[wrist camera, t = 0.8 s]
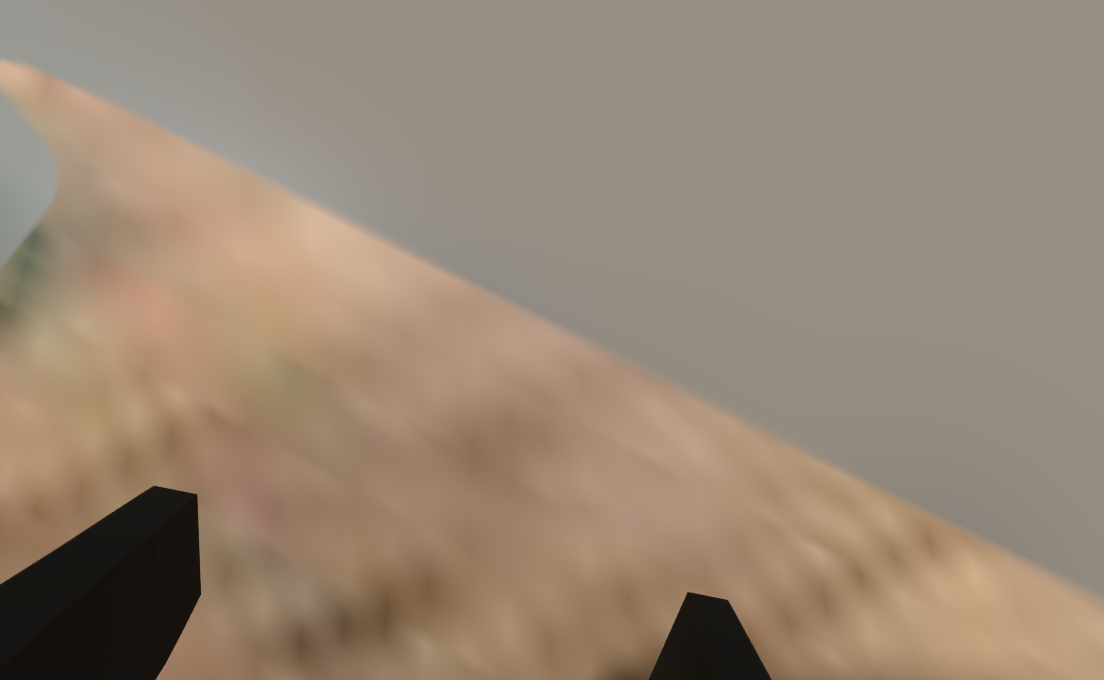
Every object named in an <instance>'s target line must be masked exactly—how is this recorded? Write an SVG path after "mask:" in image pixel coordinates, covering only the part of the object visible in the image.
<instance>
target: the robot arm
mask: <svg viewBox="0 0 1104 680" xmlns="http://www.w3.org/2000/svg"><path fill="white" fill-rule="evenodd" d="M200 595H201V580H200V554H199V528H198V501H197V494H193V493H188V492H183V491H178V490H173V489H168V488H163V487H158V486H153V487H151V488H150V489H148V490H146V491H145V492H143V493H142V494H140V495H138V496H137V497H135V498H134V499H132V500H131V501H129V502H128V503H126V504H124V505H123V506H121V507H120V508H118V509H117V510H115V511H114V512H112V513H111V514H109V515H108V516H106V517H105V518H103V519H101V520H100V521H98V522H97V523H95V524H94V525H92V526H91V527H89V528H88V529H86V530H85V531H83V532H82V533H80V534H79V535H77V536H76V537H74V538H72V539H71V540H69V541H68V542H66V543H65V544H63V545H62V546H60V547H59V548H57V549H55V550H54V551H52V552H51V553H49V554H48V555H46V556H45V557H43V558H41V559H40V560H38V561H37V562H35V563H33V564H32V565H30V566H29V567H27V568H26V569H24V570H22V571H21V572H19V573H18V574H16V575H14V576H13V577H11V578H10V579H8V580H6V581H5V582H3V583H2V584H0V680H155V679H156V678H157V676H158V675H159V673H160V672H161V670H162V669H163V667H164V665H165V664H166V662H167V660H168V658H169V656H170V654H171V652H172V650H173V649H174V647H175V645H176V643H177V641H178V639H179V637H180V635H181V633H182V631H183V629H184V627H185V625H186V623H187V621H188V619H189V617H190V615H191V613H192V611H193V609H194V607H195V605H196V603H197V601H198V599H199V597H200ZM649 680H772V679H771V678H770V676H769V674H768V672H767V670H766V669H765V667H764V665H763V663H762V661H761V660H760V658H759V656H758V654H757V652H756V650H755V649H754V647H753V645H752V643H751V641H750V639H749V637H748V636H747V634H746V632H745V630H744V628H743V626H742V625H741V623H740V621H739V619H738V617H737V615H736V614H735V612H734V610H733V608H732V606H731V605H730V603H729V601H728V600H725V599H720V598H715V597H710V596H705V595H700V594H695V593H690V592H688V593H687V595H686V597H685V599H684V602H683V604H682V606H681V608H680V611H679V613H678V615H677V617H676V620H675V622H674V624H673V626H672V629H671V631H670V633H669V635H668V638H667V640H666V642H665V644H664V647H663V649H662V651H661V653H660V656H659V658H658V660H657V662H656V665H655V667H654V669H653V671H652V674H651V676H650V678H649Z"/></svg>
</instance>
